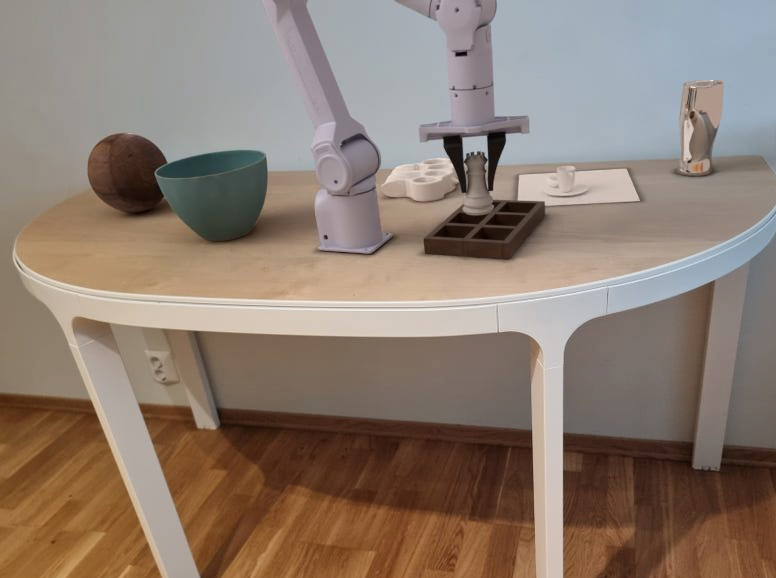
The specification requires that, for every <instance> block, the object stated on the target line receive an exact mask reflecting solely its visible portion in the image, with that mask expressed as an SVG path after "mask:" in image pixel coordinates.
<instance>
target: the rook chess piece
mask: <svg viewBox="0 0 776 578" xmlns="http://www.w3.org/2000/svg"><path fill="white" fill-rule="evenodd" d="M485 154H486V153H485V152H484V151H480V150H479V151H478V150H477V151H476V154H475V151H470V152H467V153H466V154H465V156H466V157H465V159H464V165H465V166H466V167H467V169H466V171H465V175H467V193H464V194H465V196H464V197H463V199H462V205H463V204H464V205H465V206H464V207H463V211H464V212H465V213H466V214H468V215H484V214H488V213H490V212H491V211H492V210H493V208H494V205H492V202H493V200H494V198H493V196H492V195H491V193H490V192H491V191H488V183H487V178H486V173H488V170H487V169H486V165H487V163H488V157H486V155H485Z"/></svg>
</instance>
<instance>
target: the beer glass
mask: <svg viewBox="0 0 776 578" xmlns="http://www.w3.org/2000/svg"><path fill="white" fill-rule="evenodd" d="M724 84H725V83H724V81H722V80H717V79H700V80H691V81H686V82H684V83H682V84H681V85H682V86H681V92H680V99H679V105H678V106H679V107H678V132H679V140H680V153H679V155H680V156H679V160H678V164H677V168H676V174H679V175H681V176H686V177H701V176H707V175H711V174H712V173H713V171H714V167H713V150H714V146H715V141H716V137H717V134H718V130H719V128H720V123H721V119H722V113H723V105H724Z"/></svg>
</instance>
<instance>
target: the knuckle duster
mask: <svg viewBox="0 0 776 578" xmlns="http://www.w3.org/2000/svg"><path fill="white" fill-rule="evenodd" d="M457 184H460V183H459V179H458V176H457V174H456V171H455V169H454V167H453V164H452V162H451V160H450V158H449V157H435V158H428V159H425V160H422V161H421V162H416V163H405V164H401V165H397V166H396V167H394V168H393V169H392V170H391V173H390V174H389V175H388V176H387V177H386V180H385V181H384V183H382V185H380V191H381V193H382V194H383V195H384V196H387V197H390V198H397V199H398V198H410V199H412V200H413V201H415V202H420V203H422V202H423V203H425V202H427V203H428V202H435V201H439V200H442V199H444V198H445V195H446V194H449V193H451V192H453V191H454V190H455V189H456V185H457Z"/></svg>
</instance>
